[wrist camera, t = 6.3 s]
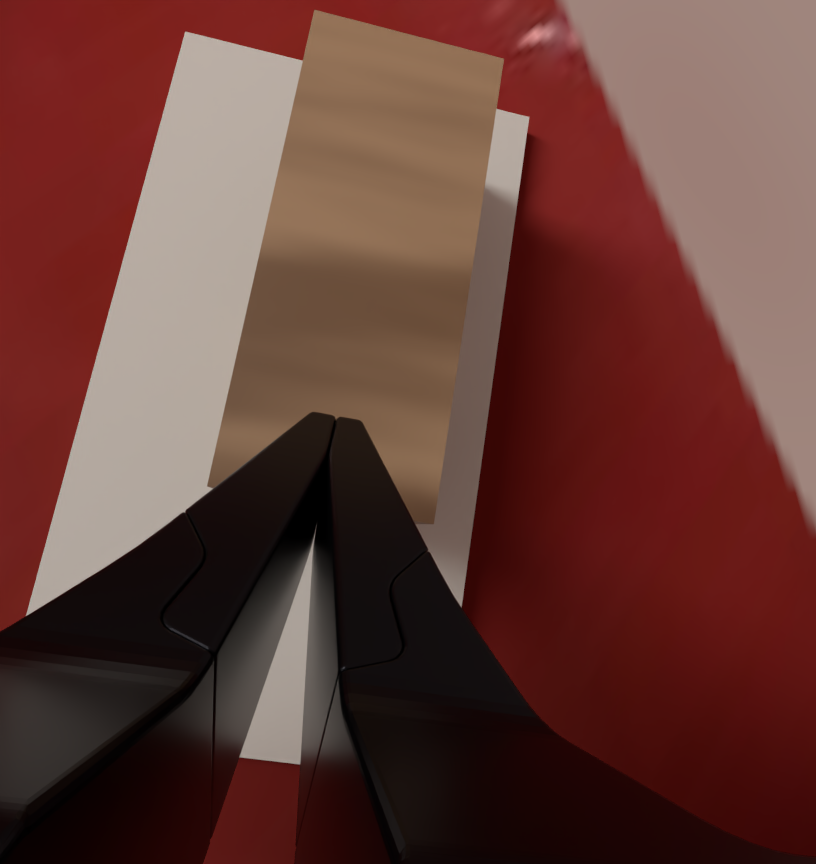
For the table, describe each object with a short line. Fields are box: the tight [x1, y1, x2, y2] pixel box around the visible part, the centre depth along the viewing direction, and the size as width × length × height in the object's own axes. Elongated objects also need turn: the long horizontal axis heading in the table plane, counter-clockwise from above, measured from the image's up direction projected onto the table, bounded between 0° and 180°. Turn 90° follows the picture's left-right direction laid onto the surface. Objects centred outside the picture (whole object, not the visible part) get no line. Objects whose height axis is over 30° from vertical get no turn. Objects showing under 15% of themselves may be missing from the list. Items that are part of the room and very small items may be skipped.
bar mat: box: [26, 32, 529, 764], centre depth 16 cm, size 20×11×1 cm, turn 171°
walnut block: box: [207, 10, 504, 524], centre depth 14 cm, size 4×4×11 cm
